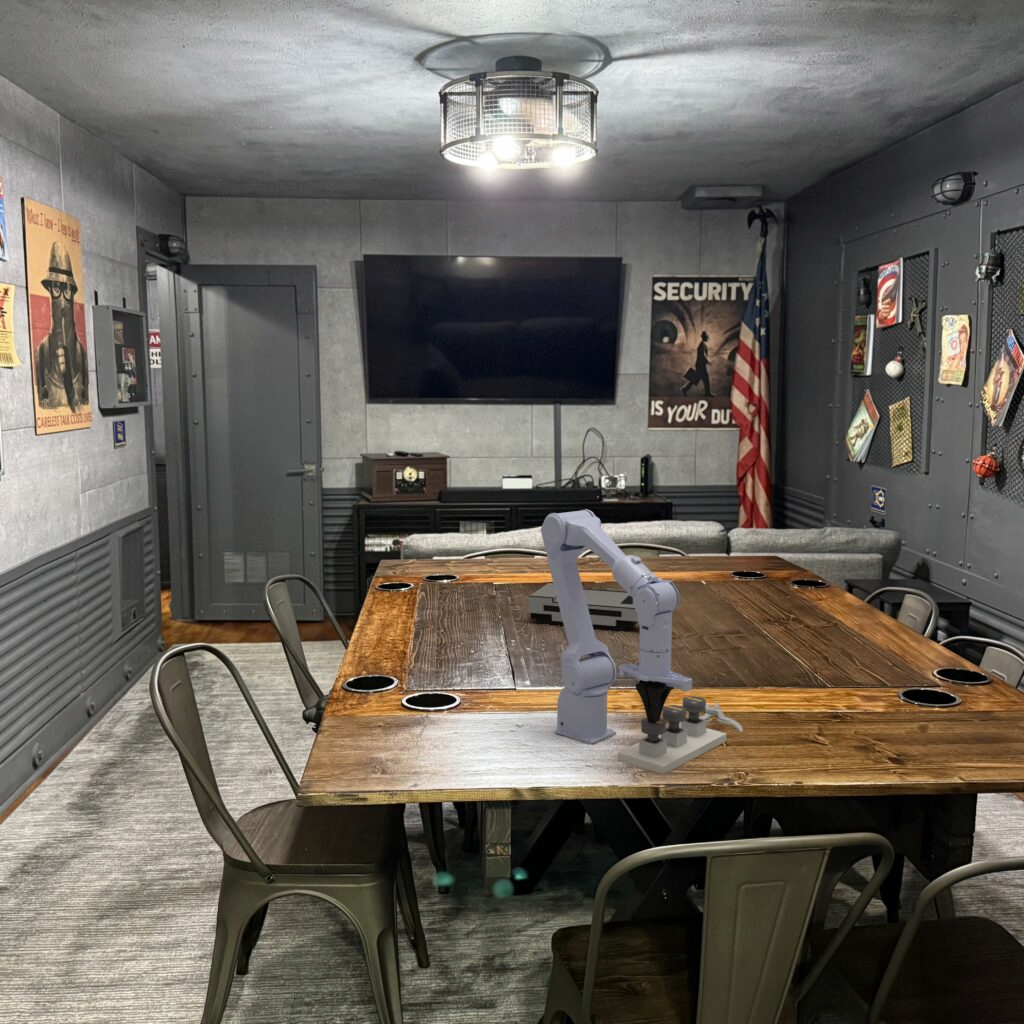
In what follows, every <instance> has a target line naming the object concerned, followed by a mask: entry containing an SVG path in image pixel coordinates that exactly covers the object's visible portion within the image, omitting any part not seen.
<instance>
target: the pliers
mask: <svg viewBox="0 0 1024 1024" xmlns="http://www.w3.org/2000/svg"><path fill="white" fill-rule="evenodd" d="M719 704H720V703H719V702H715V703H714V705H713V706H711V705H709V704H708V703H707V702H706V710H705V711H704V712H703V713H704V714H703V715H700V716H699V718H700V719H704V720H707V724H709V723H710V722H713V718H710V717H716V718H717V719H716V721H717V722H718V723H721V724H725V725H728V726H729V725H730V726H733V727H734V728H735V729H736V730H737V731H738V732H739V734H743V732H744V731H743V729H744V728H743V726H742V725H741V724H740V723H739V722H738V721H736V720H735V719H733V718H730V717H727V716H725V713H724V712H723V711H722V710H721V709H720V705H719Z"/></svg>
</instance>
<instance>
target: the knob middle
mask: <svg viewBox="0 0 1024 1024" xmlns="http://www.w3.org/2000/svg"><path fill="white" fill-rule="evenodd" d="M661 716H662V718H661V719H663V720H665V721H666V722H668V726H669V731H670V732H679V725H680V722H683V721H685V720H686V718H687V711H686V708H685V707H682V706H681V705H677V704H668V705H664V706H663V709H662V713H661Z"/></svg>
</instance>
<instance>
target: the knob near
mask: <svg viewBox="0 0 1024 1024" xmlns="http://www.w3.org/2000/svg"><path fill="white" fill-rule="evenodd" d="M640 724H641V727H640V729H641V730H640V731H641V732H642V734H646V735H647V736H648V742H651V743H655V744H656V743H658V742H659V735H661V734H664V733H665V732H666V726H667V725H666V724H667V721H666V720H664V719H663V718H661V717H660V721H657V722H655V723H652V722H648V720H647V717H645V718H642V719H641V723H640Z"/></svg>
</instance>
